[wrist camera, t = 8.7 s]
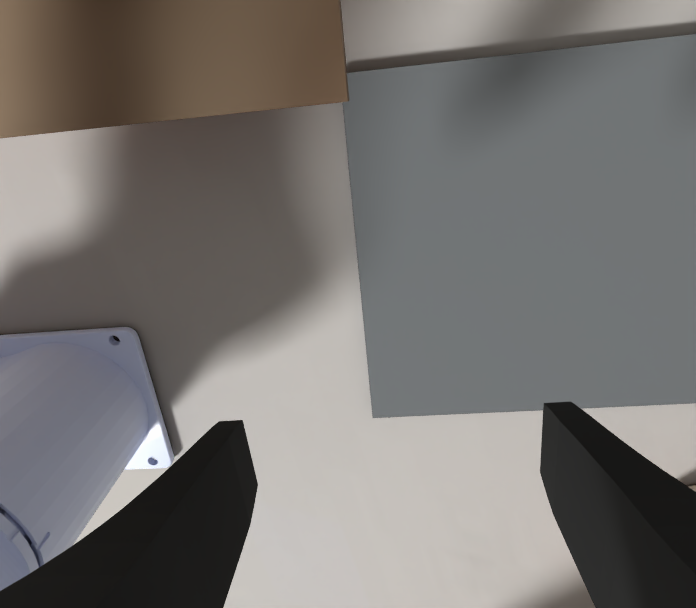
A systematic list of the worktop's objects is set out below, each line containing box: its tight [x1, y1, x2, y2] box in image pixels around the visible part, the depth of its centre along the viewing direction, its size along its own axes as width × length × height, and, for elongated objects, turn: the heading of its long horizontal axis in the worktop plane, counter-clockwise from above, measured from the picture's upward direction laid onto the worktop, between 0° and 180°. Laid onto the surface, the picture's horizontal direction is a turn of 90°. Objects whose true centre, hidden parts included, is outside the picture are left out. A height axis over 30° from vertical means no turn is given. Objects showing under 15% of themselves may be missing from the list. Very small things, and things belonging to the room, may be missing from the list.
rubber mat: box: [343, 34, 696, 418], centre depth 20 cm, size 15×15×1 cm
